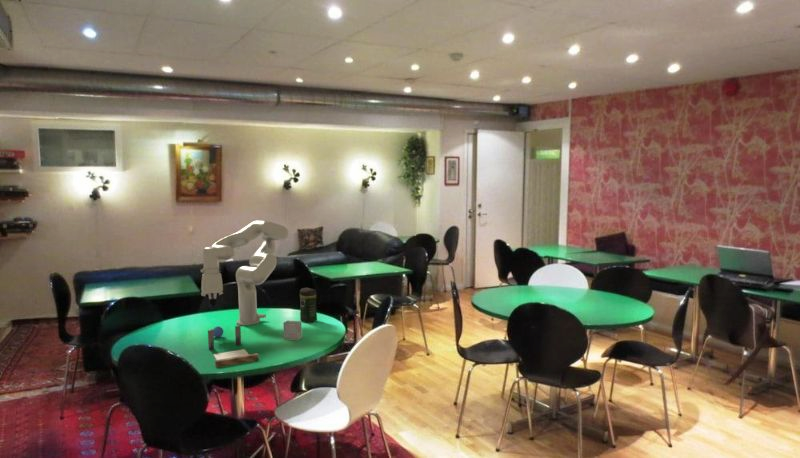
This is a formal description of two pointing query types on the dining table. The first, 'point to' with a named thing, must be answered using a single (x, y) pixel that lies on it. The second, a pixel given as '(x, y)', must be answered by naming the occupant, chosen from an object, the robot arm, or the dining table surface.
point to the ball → (218, 331)
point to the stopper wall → (236, 360)
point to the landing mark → (230, 354)
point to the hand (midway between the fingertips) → (212, 306)
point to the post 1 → (211, 339)
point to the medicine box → (292, 330)
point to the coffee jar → (308, 305)
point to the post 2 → (238, 335)
